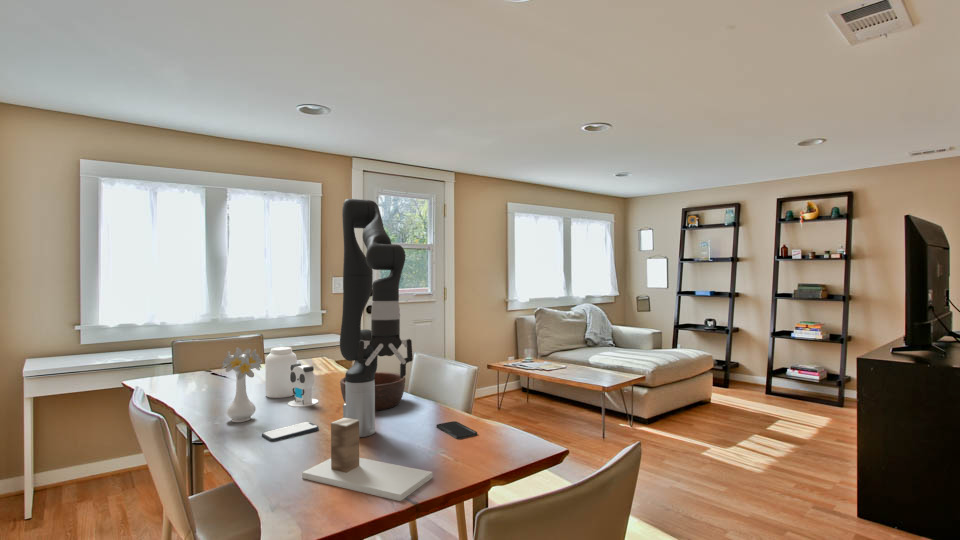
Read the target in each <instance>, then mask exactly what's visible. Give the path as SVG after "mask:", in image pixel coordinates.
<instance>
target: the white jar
mask: <svg viewBox="0 0 960 540" xmlns="http://www.w3.org/2000/svg"><path fill="white" fill-rule="evenodd" d="M269 351H270V352H269V354H268V355H266V358H265V362H264V363H265V364H264V365H265V368H264V369H265V396H266V397H267V398H270V399H281V398H282V399H283V398H284V399H285V398H288V397H292V396H295V394H294V393H293V388H294V387H293V385H292V382H291V380H290V375H291V372H292V371H291V369H290V367H291V365H293V364H298V357H297V354H296V353H295V352H293V348H292V347H291V346H278V347H277V346H276V347H272V348H271V349H270V350H269Z"/></svg>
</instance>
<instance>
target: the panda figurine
mask: <svg viewBox="0 0 960 540" xmlns="http://www.w3.org/2000/svg"><path fill="white" fill-rule="evenodd" d="M290 369H291V371H292V372H291V375H290V380H291V382H292V385H293V387H294V388H293V393H294V394H295V395H294V399H293V400H290V401H289V402H288V403H287V406H288V407H292V408H305V407H311V406H315V405H317V404H318V403H319V400H318V398H317V399H316V398H313V387H314V383H315V376H314V370H315V369H314V366H313V365H310V366H309V365H306V364H305V365H303V364H301V363H297V364H293V365H291V367H290Z"/></svg>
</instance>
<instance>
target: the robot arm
mask: <svg viewBox="0 0 960 540" xmlns="http://www.w3.org/2000/svg"><path fill="white" fill-rule="evenodd" d="M341 211H342V213H341V214H342V233H343V234H342V235H343V237H342V238H343V267H342V268H343V269H342V271H343V272H342V292H343V293H342V317H341V324H340V325H341V327H340V337H339V350H340V354H341V356H342V357H343V358H344V359H345V360H346V361H349V362H353V364H352V366H351V367H350V368H349V369H348V370H346V371H345V375H344V376H345V390H346V403H345V402H344V403H343V405H342V418H350V419H356V420H359V438H365V437H366V438H367V437H370V436H373V435H374V434H375V433H376V410H375V373H376V372H377V370H378V359H379V358H378V356H379V357H384V356H385V357H386V356H387V357H393V356H394V355H395V357H396V358H397V359H398V360H399V361H400V363H399V374H400V378H403V376H404V377H406V375H407V373H406V372H407V367H406V366H407V364H408V363H411V362H412V361H413V360H414V358H413V346H412V345H413V343H412V342H413V341H412V339H410V338H407V339H401V335H400V333H401V329H400V328H401V322H400V321H401V320H400V319H401V312H400V302H399V301H400V299H399V298H400V297H399V296H400V293H399V291H400V281H401V277H402V272H403V269H404V266H405V263H406V252H405V248H404V247H403V246H401V245H400V244H395V243H393V244H392V241H391V239H390V237H389V235H388V232H387V231H386V230H385V227H384V222H383V217H382V215H381V210H380V208H379V205H378V204H377V202H376V201H374V200H370V199H357V198H345V200H344V202H343V205H342V210H341ZM355 229H363V231H362V241H363V243H364V245H365V248H366V254H364V252H363V250H362V248H361V247H360V245H359V243H358V241H357V238H356V233H355ZM373 270H375V271H390V272H389V274H388V276H386V277H384V278H383V277H382V278H378V279H375V280H373ZM371 295H372V297H371ZM370 297H371V298H372V302H371V303H372V304H371V311H370V313H371V315H370V320H371V321H370V323H371V324H370V325H371V326H370V329H362V317H363V313H364V310H365V308H366V306H367V304H368V302H369V300H370ZM401 345H403V347H404V348H405V349H406V357H404V356H403V355H402V354H401V352H400V351H399V348H400V347H401Z"/></svg>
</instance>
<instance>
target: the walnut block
mask: <svg viewBox="0 0 960 540" xmlns="http://www.w3.org/2000/svg"><path fill="white" fill-rule="evenodd" d="M330 458H331V470H336V471H341V472H345V473H347V472H349V471H351V470H353V469H354V468H356V467H358V466H359V458H360V437H359V420H356V419H350V418H343V417H342V418H340V419H338V420H335V421H332V422H331V423H330Z"/></svg>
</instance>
